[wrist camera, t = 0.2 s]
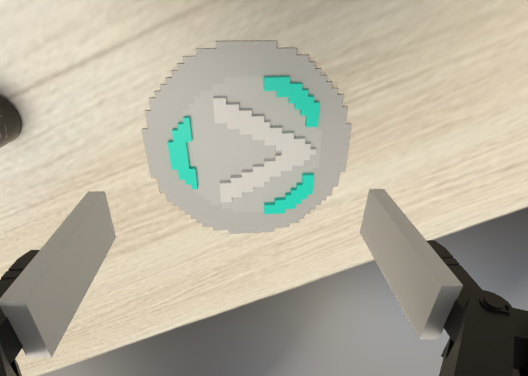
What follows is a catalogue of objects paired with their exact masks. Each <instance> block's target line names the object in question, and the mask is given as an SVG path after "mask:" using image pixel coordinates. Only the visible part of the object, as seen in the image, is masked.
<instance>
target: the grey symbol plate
mask: <svg viewBox="0 0 528 376" xmlns="http://www.w3.org/2000/svg"><path fill="white" fill-rule="evenodd" d="M196 55H197V56H183V61H184V63H178V64H177V67H178V71H171V73H172V77H169V78H166V84H160V89H161V91H154V93H155V98H149V102H150V107H151V110H145V115H146V121H147V126H148V129H142V133H143V138H144V143H145V148H146V153H147V159H148V164H149V169H150V174H151V178H157V180H158V186H159V191H160V193H166V199H167V202H173V206H179V211H180V210H185V215H190V214H191V219H197V223H202V225H203V227H211V226H213V231H214V230H229V234H238V233H260V232H274V228H282V227H289V223H299V218H304V214H310V210H312V209H315V205H320V204H321V200H326V196H332V188H333V186H338V181H339V174H340V172H345V168H346V161H347V154H348V146H349V139H350V132H351V124H346V118H347V110H348V106H342V103H343V94H338V88H332V84H333V82H327V75H321V69H315V62H309V55H297V48H277V41H216V49H196Z"/></svg>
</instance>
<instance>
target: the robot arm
mask: <svg viewBox="0 0 528 376" xmlns="http://www.w3.org/2000/svg"><path fill="white" fill-rule="evenodd" d="M360 233H361V235H362V237H363V239H364V241H365V243H366V244H367V246H368V248H369V250H370V252H371V253H372V255H373V257H374V259H375V261H376V262H377V264H378V266H379V268H380V269H381V271H382V273H383V275H384V277H385V279H386V280H387V282H388V284H389V286H390V288H391V289H392V291H393V293H394V295H395V297H396V298H397V300H398V302H399V304H400V306H401V308H402V309H403V311H404V313H405V315H406V317H407V318H408V320H409V322H410V324H411V326H412V327H413V329H414V331H415V333H416V335H417V337H418V338H419V340H426V339H439V338H440V335H441V333H442V331H443V329H445V330H446V332H447V333H448V335H449V336H450V338H449V340H448V343H447V345H446V347H445V349H444V351H443V353H442V355H441V356H442V357H444V358H443V362H442V366H441V370H440V374H439V376H528V311H525V310H520V309H516V308H512V307H511V305H510V304H509V303H508V302H507V301H506V300H505V299H503V298H502V297H500V296H498V295H496V294H494V293H492V292H489V291H484V290H482V289H481V288H480V287H479V286H478V285H477V283H476V282H475V281H474V280H473V279H472V278H471V277H470V275H469V274H468V273H467V272H466V271H465V270H464V269H463V268H462V266H461V265H459V263H458V262H457V261H456V259H454V258H453V256H452V255H451V254H450V253H449V252H448V250H447V249H446V248H445V247H443V246H442V245H440V244H439V243H437V242H436V241H434V240H430V241H426V240H425V239H424V237H423V236H422V235H421V234H420V232H419V231H418V230H417V229H416V228H415V226H414V225H413V224H412V223H411V221H410V220H409V219H408V218H407V217H406V215H405V214H404V213H403V212H402V211H401V209H400V208H399V207H398V206H397V204H396V203H395V202H394V201H393V200H392V198H391V197H390V196H389V195H388V194H387V192H386V191H385V190H384V189H369V193H368V198H367V202H366V207H365V211H364V216H363V221H362V225H361V230H360ZM115 238H116V235H115V231H114V227H113V223H112V219H111V215H110V211H109V207H108V202H107V198H106V194H105V191H102V192H88V193H87V194H86V195H85V196H84V197H83V199H82V200H81V201H80V202H79V204H78V205H77V206H76V207H75V208H74V210H73V211H72V212H71V213H70V214H69V216H68V217H67V218H66V219H65V220H64V222H63V223H62V224H61V225H60V227H59V228H58V229H57V230H56V231H55V233H54V234H53V235H52V236H51V237H50V239H49V240H48V241H47V242H46V243H45V245H44V246H43V247H42V248H41V250H30V251H29V252H27V253H26V254H25V255H23V256H22V257H20V258H19V259H17V260H16V262H15V263H14V264H13V265H12V266H11V267H10V268H9V271H7V272H6V273H5V274H4V275H3V276H2V277H1V280H0V376H22V375H21V372H20V369H19V366H18V363H17V362H16V360H15V358H16V356H17V355H18V353H19V352H20V350H21V349H23V350H24V352H25V354H26V356H27V358H49V357H52V355H53V354H54V352H55V350H56V348H57V346H58V344H59V342H60V341H61V339H62V337H63V335H64V333H65V331H66V329H67V327H68V326H69V324H70V322H71V320H72V318H73V316H74V314H75V313H76V311H77V309H78V307H79V305H80V303H81V301H82V300H83V298H84V296H85V294H86V292H87V290H88V288H89V287H90V285H91V283H92V281H93V279H94V277H95V275H96V273H97V272H98V270H99V268H100V266H101V264H102V262H103V260H104V259H105V257H106V255H107V253H108V251H109V249H110V247H111V246H112V244H113V242H114V240H115Z"/></svg>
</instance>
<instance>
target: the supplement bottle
mask: <svg viewBox="0 0 528 376" xmlns="http://www.w3.org/2000/svg"><path fill="white" fill-rule="evenodd" d="M20 126H21V125H20V119H19V116H18V114H17V112H16V110H15V109H14V108H13V106H12V105H11V104H10V103H9V102H8V101H6V100H5V99H4V98H2V97H1V96H0V148H1V147H3V146H5V145H6V144H8V143H10V142H11V141H13V140H14V139H15V138H16V137H17V136H18V134H19V132H20Z"/></svg>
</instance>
